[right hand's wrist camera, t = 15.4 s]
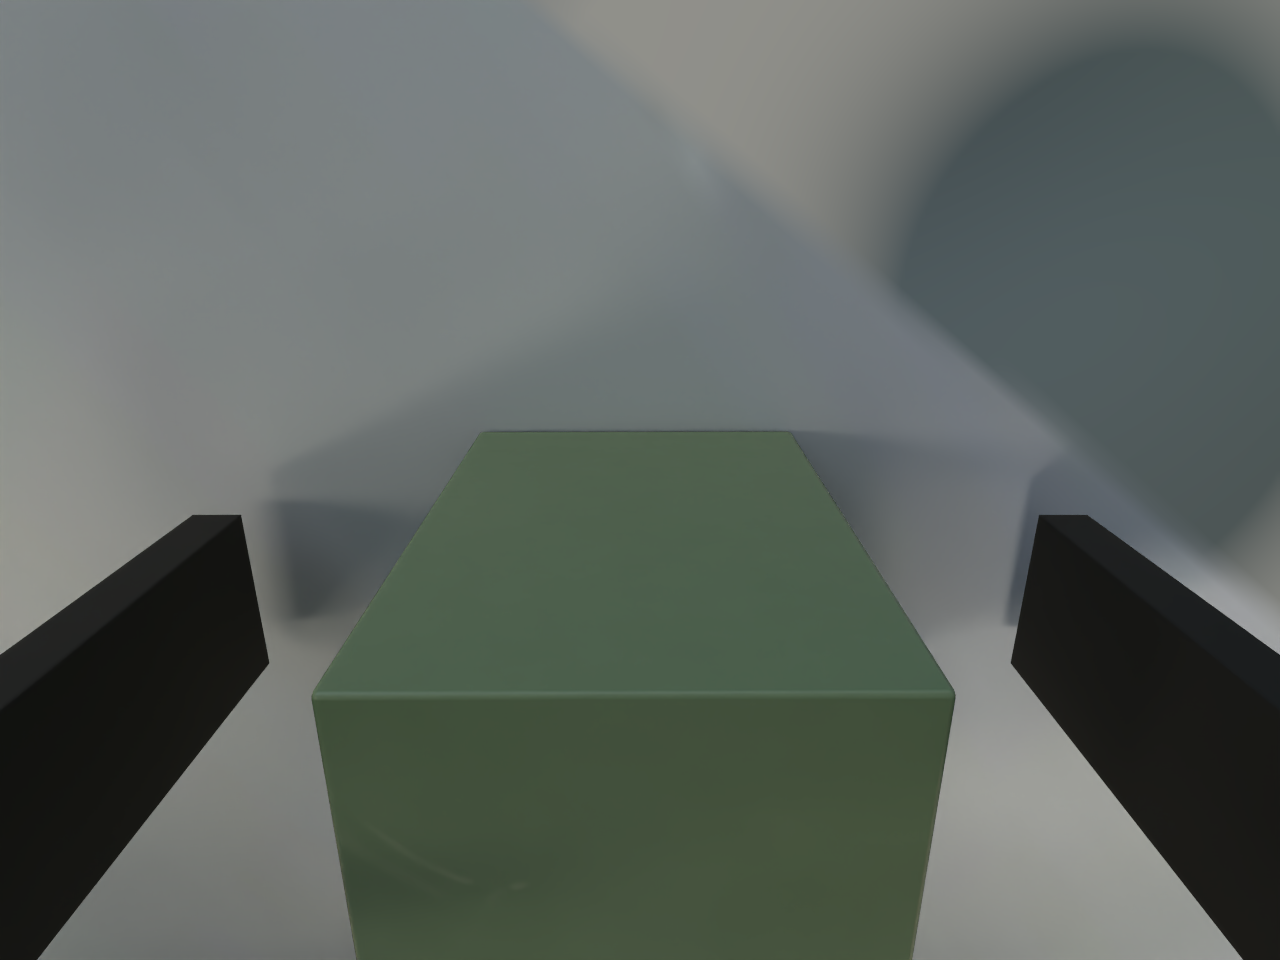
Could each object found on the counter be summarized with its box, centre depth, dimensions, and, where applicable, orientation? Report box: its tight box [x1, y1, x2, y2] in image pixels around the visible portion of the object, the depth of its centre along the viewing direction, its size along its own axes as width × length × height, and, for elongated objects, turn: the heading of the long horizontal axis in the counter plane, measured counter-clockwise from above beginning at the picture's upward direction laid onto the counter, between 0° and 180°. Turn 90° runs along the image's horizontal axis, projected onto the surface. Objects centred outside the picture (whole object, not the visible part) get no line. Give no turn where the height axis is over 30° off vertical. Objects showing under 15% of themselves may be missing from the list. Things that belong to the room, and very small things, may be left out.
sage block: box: [312, 432, 955, 960], centre depth 10 cm, size 5×5×7 cm
